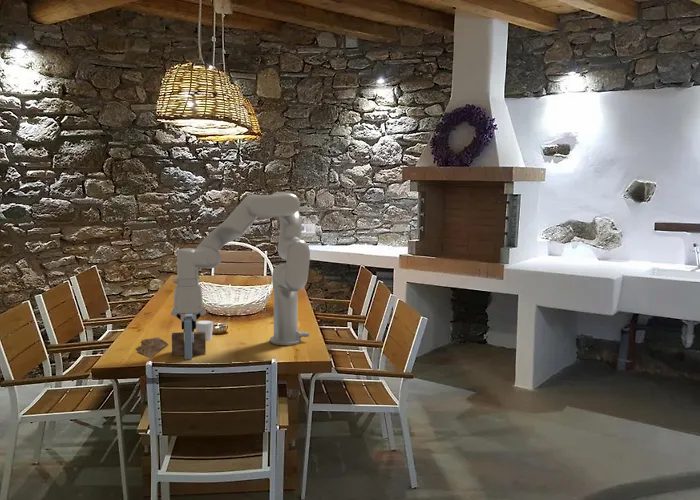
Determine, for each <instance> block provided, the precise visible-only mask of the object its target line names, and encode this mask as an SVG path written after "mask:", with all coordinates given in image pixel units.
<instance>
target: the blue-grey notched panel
mask: <svg viewBox="0 0 700 500" xmlns="http://www.w3.org/2000/svg"><path fill="white" fill-rule="evenodd" d="M192 319H193V314H185V320H184V329H183V332H184V346H185V355H184V360H192V358H193V355H192V343H193V342H194V332H192Z"/></svg>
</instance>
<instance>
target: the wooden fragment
mask: <svg viewBox="0 0 700 500" xmlns="http://www.w3.org/2000/svg"><path fill="white" fill-rule="evenodd" d="M167 345H169V344H168V343H167V342H166V341H165V340H164V339H162V338H160V337H157V336H156V337H152V338H144V339H142V340H141V346H137V347H136V349H137V351H136V353H138V354H140V355H142V356H146V358H153V357H154V356H155V355H156V354H157V353H159V352H160V351H161V350H162V349H163V348H165V347H167Z"/></svg>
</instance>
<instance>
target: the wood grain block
mask: <svg viewBox="0 0 700 500" xmlns="http://www.w3.org/2000/svg"><path fill="white" fill-rule="evenodd" d="M193 338H194V342H193V343H192V356H195V355H206V352H207V349H206V347H207V346H206V336H205V332H197V331H194V332H193ZM171 356H185V346H184V331H183V332H171Z"/></svg>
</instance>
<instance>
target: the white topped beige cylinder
mask: <svg viewBox="0 0 700 500" xmlns="http://www.w3.org/2000/svg"><path fill="white" fill-rule="evenodd" d="M213 328H214V321H213V320H208V319H205V320H196V329H195V331H196V332H205V336H206V341H211V340H212V338H213Z"/></svg>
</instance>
